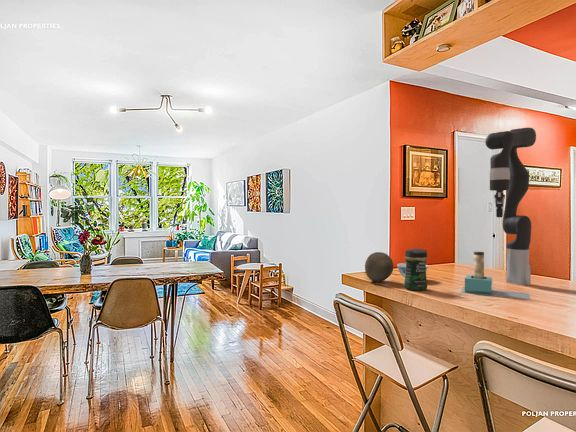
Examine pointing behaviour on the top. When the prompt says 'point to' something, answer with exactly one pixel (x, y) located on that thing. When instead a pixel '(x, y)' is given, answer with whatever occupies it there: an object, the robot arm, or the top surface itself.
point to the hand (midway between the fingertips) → (499, 217)
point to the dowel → (479, 265)
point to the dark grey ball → (378, 266)
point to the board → (505, 294)
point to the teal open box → (478, 285)
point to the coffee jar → (415, 269)
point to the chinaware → (404, 268)
